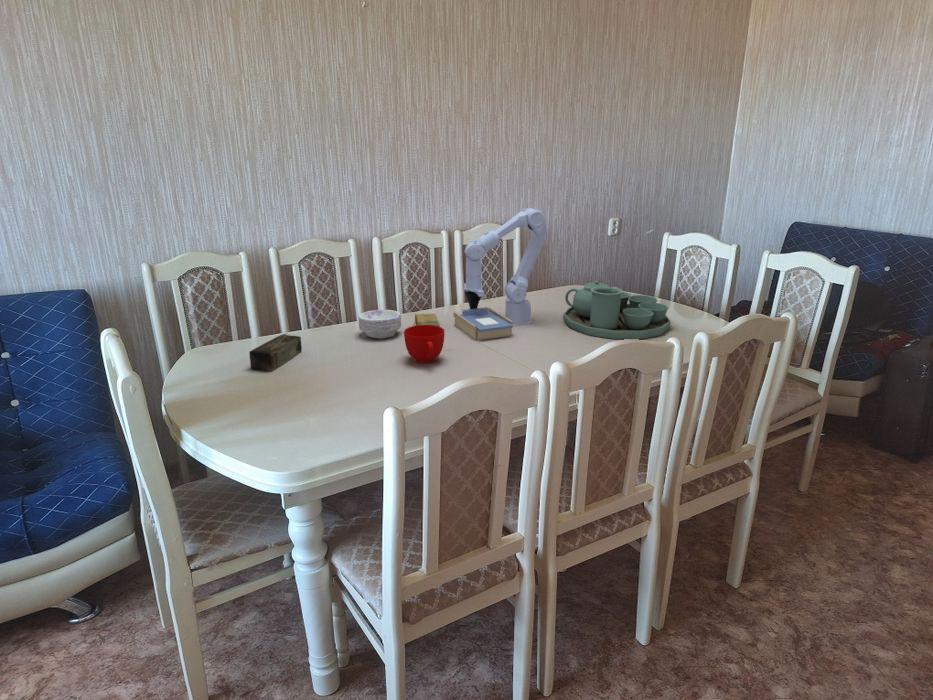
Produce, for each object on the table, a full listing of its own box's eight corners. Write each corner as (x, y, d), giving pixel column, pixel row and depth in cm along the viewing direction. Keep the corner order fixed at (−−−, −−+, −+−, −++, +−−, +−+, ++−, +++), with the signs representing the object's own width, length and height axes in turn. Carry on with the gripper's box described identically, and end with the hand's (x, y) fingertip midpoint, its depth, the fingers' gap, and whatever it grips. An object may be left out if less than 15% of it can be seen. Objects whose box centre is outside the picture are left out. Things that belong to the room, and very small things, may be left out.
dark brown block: (303, 352, 202) (301, 334, 200) (272, 373, 185) (270, 353, 183) (282, 350, 204) (280, 332, 202) (249, 370, 187) (247, 350, 184)
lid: (488, 313, 231) (488, 306, 230) (512, 327, 214) (512, 320, 213) (458, 316, 227) (458, 309, 226) (480, 331, 209) (480, 324, 208)
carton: (436, 323, 234) (436, 312, 233) (440, 336, 220) (440, 325, 218) (414, 324, 233) (414, 313, 232) (417, 337, 218) (417, 325, 217)
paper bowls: (379, 326, 230) (378, 306, 227) (409, 333, 222) (409, 312, 219) (350, 336, 218) (349, 315, 215) (382, 344, 210) (381, 322, 207)
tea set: (683, 341, 214) (689, 296, 209) (571, 340, 215) (574, 295, 209) (652, 310, 252) (656, 271, 246) (556, 310, 252) (558, 271, 246)
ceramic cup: (411, 373, 184) (410, 342, 181) (401, 355, 199) (400, 326, 196) (452, 369, 187) (451, 338, 184) (439, 351, 203) (439, 323, 199)
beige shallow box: (489, 322, 235) (489, 307, 233) (512, 336, 218) (513, 321, 216) (453, 326, 229) (453, 311, 227) (474, 342, 212) (474, 326, 210)
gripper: (456, 272, 229) (456, 307, 233) (471, 280, 216) (471, 316, 221) (473, 271, 231) (473, 305, 236) (489, 278, 219) (488, 314, 223)
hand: (473, 310), depth 229 cm, fingers closed
